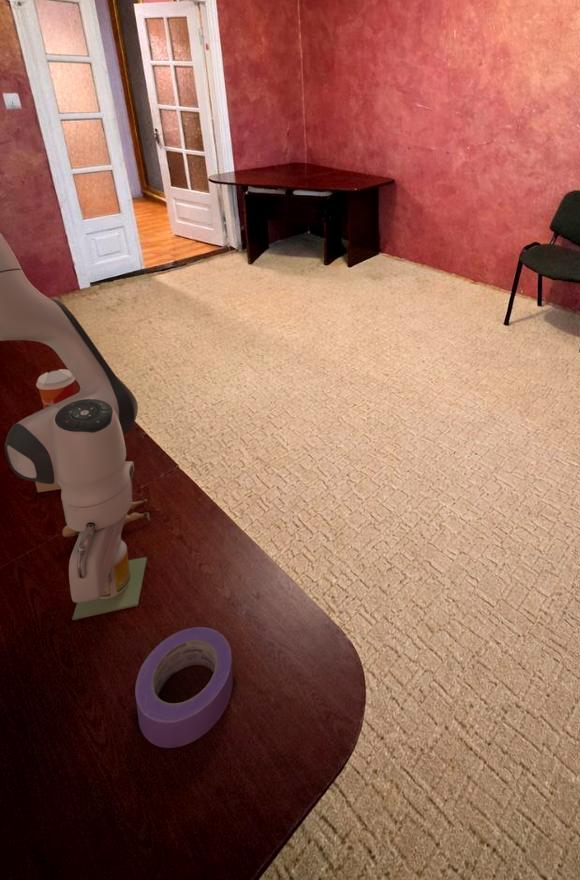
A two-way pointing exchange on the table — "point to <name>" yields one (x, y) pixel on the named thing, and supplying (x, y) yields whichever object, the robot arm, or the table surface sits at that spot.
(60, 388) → the paper cup
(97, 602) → the mat
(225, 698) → the tape roll
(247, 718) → the table surface
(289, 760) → the table surface
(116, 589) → the supplement bottle
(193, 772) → the table surface
